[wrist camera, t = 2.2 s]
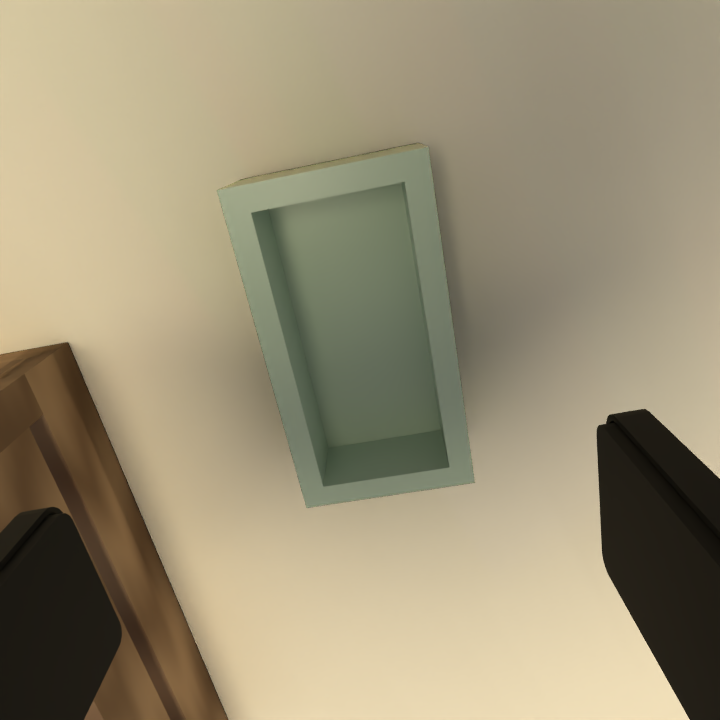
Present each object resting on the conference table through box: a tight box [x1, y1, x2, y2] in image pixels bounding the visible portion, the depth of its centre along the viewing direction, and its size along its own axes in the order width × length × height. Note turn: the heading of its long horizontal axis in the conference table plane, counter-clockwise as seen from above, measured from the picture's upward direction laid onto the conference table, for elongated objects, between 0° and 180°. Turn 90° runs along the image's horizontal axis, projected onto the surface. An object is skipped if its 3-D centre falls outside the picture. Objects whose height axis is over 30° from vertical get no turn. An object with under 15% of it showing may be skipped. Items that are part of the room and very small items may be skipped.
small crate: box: [217, 143, 475, 508], centre depth 17 cm, size 10×5×3 cm, turn 11°
